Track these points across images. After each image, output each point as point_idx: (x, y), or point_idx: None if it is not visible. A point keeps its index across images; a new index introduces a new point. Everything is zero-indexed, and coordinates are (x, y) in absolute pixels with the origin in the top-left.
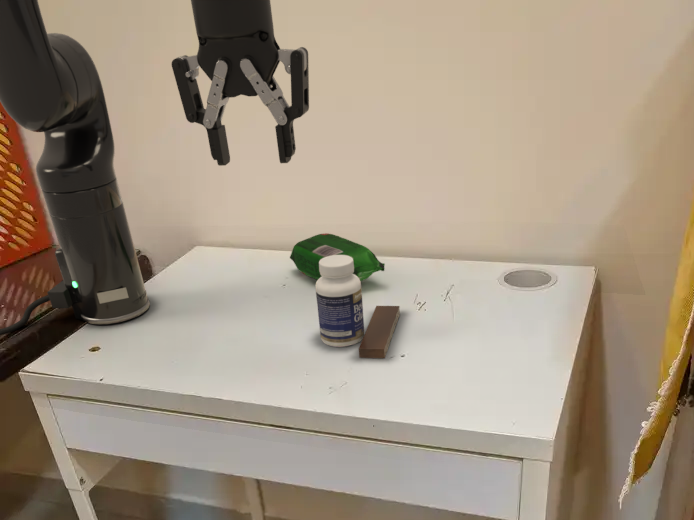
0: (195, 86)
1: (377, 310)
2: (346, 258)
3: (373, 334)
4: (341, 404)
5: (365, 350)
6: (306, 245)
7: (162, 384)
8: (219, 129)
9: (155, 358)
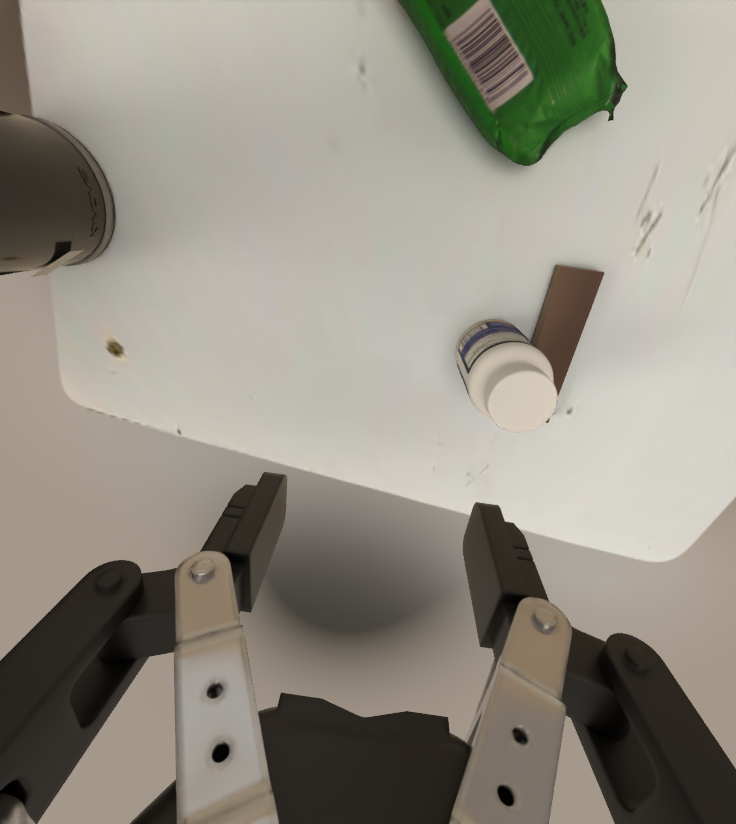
0: (38, 735)
1: (560, 288)
2: (544, 395)
3: None
4: None
5: None
6: None
7: (262, 448)
8: (251, 595)
9: (221, 384)
